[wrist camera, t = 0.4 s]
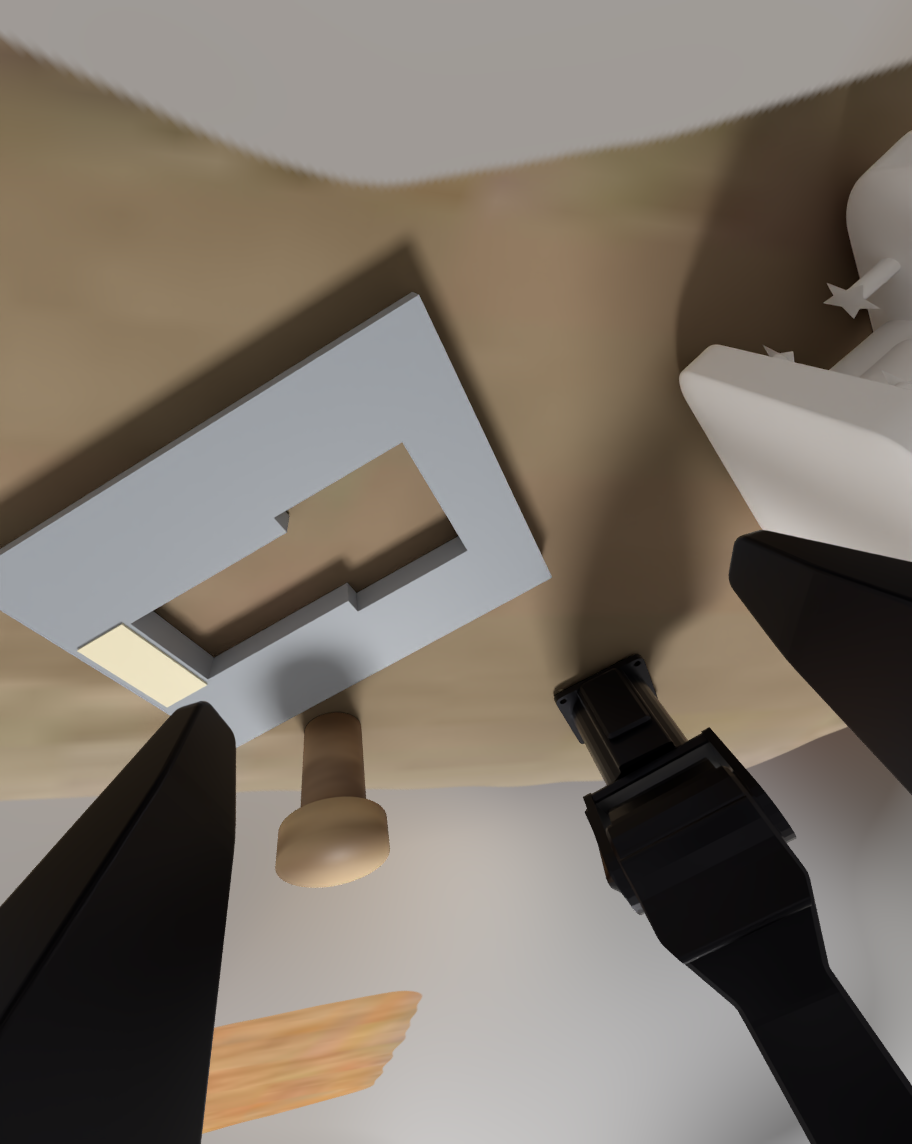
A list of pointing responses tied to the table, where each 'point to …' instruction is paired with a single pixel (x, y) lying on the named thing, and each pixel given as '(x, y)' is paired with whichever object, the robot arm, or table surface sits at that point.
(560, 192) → the table surface
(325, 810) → the peg
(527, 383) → the table surface
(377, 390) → the keyhole board
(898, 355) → the cable organizer
